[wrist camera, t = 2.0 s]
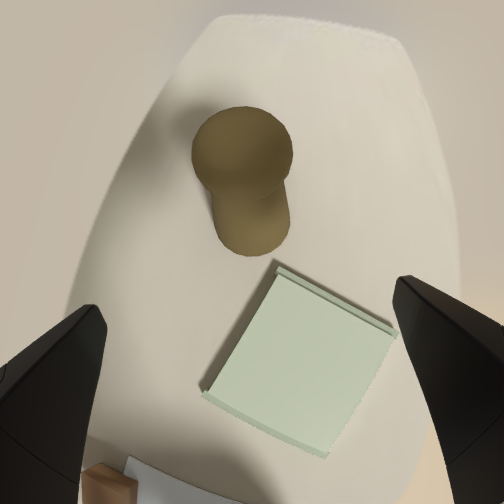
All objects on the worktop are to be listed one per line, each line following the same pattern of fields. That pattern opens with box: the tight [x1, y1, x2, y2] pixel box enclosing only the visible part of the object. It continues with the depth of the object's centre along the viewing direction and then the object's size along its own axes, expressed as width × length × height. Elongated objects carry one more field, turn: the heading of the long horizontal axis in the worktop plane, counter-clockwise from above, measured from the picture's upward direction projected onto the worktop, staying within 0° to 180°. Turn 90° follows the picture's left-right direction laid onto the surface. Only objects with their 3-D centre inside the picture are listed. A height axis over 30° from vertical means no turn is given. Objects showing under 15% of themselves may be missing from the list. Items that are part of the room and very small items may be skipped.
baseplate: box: [201, 266, 399, 459], centre depth 20 cm, size 11×11×1 cm
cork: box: [192, 106, 293, 256], centre depth 18 cm, size 6×6×11 cm
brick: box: [81, 463, 138, 504], centre depth 16 cm, size 4×4×3 cm
